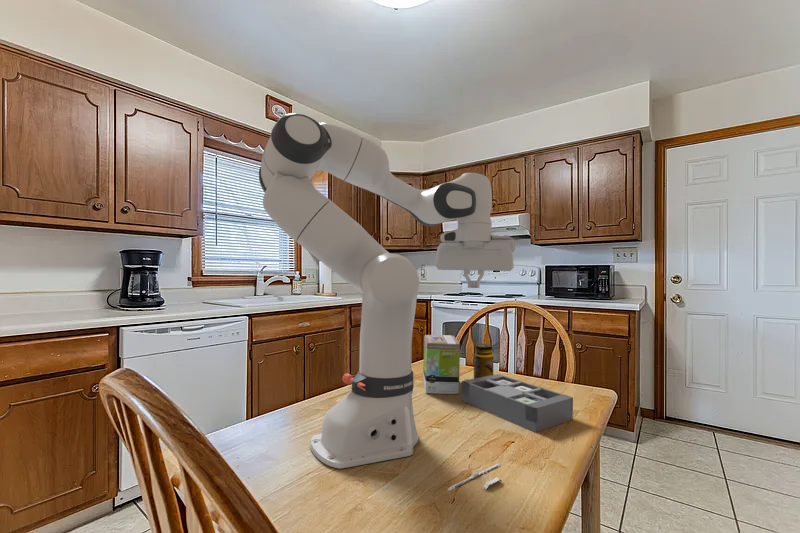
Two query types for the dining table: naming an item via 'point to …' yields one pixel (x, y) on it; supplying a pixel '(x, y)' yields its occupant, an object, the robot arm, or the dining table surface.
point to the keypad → (518, 402)
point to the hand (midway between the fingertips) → (473, 287)
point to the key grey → (504, 383)
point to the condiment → (483, 361)
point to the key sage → (526, 400)
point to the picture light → (478, 476)
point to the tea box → (441, 364)
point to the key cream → (524, 390)
